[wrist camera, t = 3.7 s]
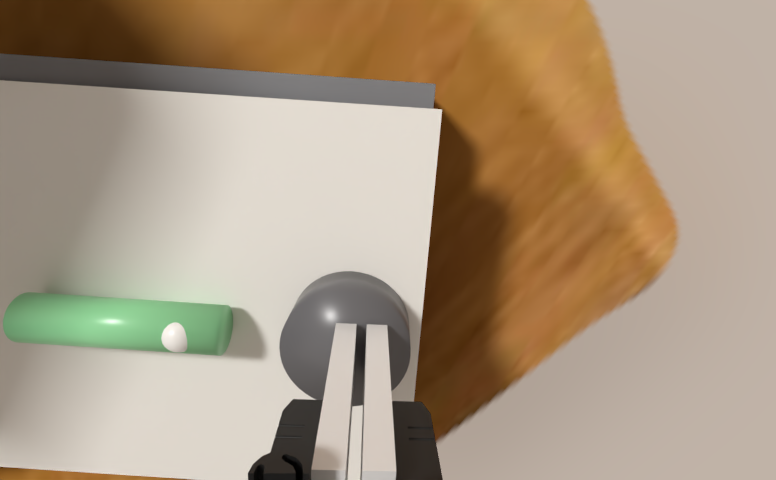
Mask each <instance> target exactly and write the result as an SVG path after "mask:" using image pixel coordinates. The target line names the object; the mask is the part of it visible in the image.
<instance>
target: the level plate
mask: <svg viewBox="0 0 776 480" xmlns="http://www.w3.org/2000/svg"><path fill="white" fill-rule="evenodd" d="M441 117H442V109H429V108H414V107H399V106H384V105H369V104H354V103H338V102H323V101H308V100H293V99H278V98H263V97H247V96H232V95H217V94H202V93H187V92H171V91H156V90H141V89H126V88H111V87H96V86H80V85H65V84H50V83H35V82H20V81H5V80H0V467H11V468H26V469H42V470H57V471H73V472H88V473H103V474H119V475H134V476H150V477H165V478H180V479H196V480H248V472H249V470H250V468H251V467H252V465H253V464H254V463H255V462H256V461H257V460H258V459H259V458H260V457H262V456H264V455H266V454H268V453H270V452H271V449H272V445H273V442H274V438H275V435H276V432H277V428H278V426H279V421H280V418H281V415H282V411H283V410H284V409H285V407H286V406H287V405H288V404H289V403H290V402H291V401H292V400H293V399H308V400H323V397H324V391H325V385H326V380H327V374H328V368H329V362H330V356H331V350H332V344H333V338H334V332H335V326H336V323H348V324H357V327H356V349H355V371H354V391H353V406H352V420H351V435H350V449H349V464H348V479H347V480H360V472H361V443H362V414H363V385H364V367H365V348H366V329H367V324H373V325H387V330H388V346H389V362H390V378H391V394H392V401H412V402H414V395H415V385H416V374H417V364H418V354H419V343H420V333H421V323H422V313H423V302H424V292H425V282H426V272H427V261H428V251H429V241H430V230H431V220H432V210H433V200H434V189H435V179H436V169H437V158H438V148H439V138H440V128H441Z"/></svg>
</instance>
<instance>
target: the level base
mask: <svg viewBox="0 0 776 480" xmlns="http://www.w3.org/2000/svg"><path fill="white" fill-rule="evenodd" d="M0 80H5V81H20V82H35V83H50V84H65V85H80V86H96V87H111V88H126V89H141V90H156V91H171V92H187V93H202V94H217V95H232V96H247V97H263V98H278V99H293V100H308V101H323V102H338V103H354V104H369V105H384V106H399V107H414V108H429V109H433V108H434V97H435V86H436V84H429V83H414V82H400V81H386V80H372V79H357V78H343V77H329V76H314V75H300V74H286V73H272V72H257V71H243V70H229V69H215V68H200V67H186V66H172V65H157V64H143V63H129V62H115V61H100V60H86V59H72V58H57V57H43V56H29V55H15V54H0Z"/></svg>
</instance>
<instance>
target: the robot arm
mask: <svg viewBox="0 0 776 480" xmlns="http://www.w3.org/2000/svg"><path fill="white" fill-rule="evenodd" d="M356 327H357V324H348V323H336V326H335V332H334V338H333V344H332V350H331V356H330V362H329V368H328V374H327V380H326V385H325V391H324V397H323V400H308V399H293V400H292V401H291V402H290V403H289V404H288V405H287V406H286V407H285V409H284V410H283V411H282V415H281V418H280V421H279V426H278V428H277V432H276V435H275V438H274V442H273V445H272V449H271V452H270V453H268V454H266V455H264V456H262V457H260V458H259V459H258V460H257V461H256V462H255V463H254V464H253V465H252V467H251V468H250V470H249V472H248V480H347V479H348V464H349V449H350V435H351V420H352V406H353V391H354V371H355V349H356ZM360 480H442V475H441V469H440V463H439V458H438V452H437V447H436V441H435V436H434V430H433V425H432V420H431V414H430V412H429V411H428V410H427V408H426V407H425V406H424V404H423V403H422V402H412V401H392V394H391V378H390V362H389V346H388V330H387V325H373V324H367V329H366V348H365V367H364V385H363V414H362V443H361V472H360Z"/></svg>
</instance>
